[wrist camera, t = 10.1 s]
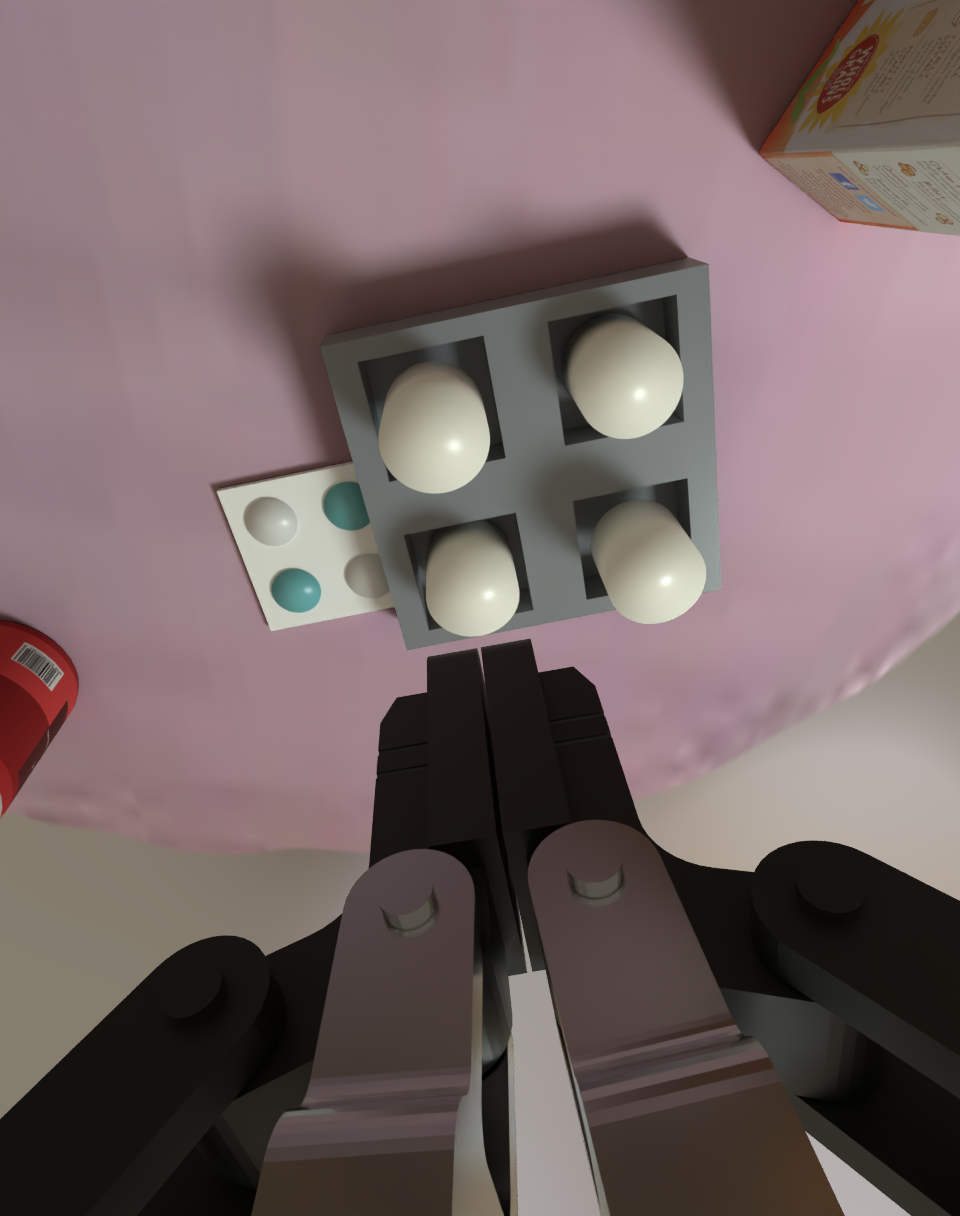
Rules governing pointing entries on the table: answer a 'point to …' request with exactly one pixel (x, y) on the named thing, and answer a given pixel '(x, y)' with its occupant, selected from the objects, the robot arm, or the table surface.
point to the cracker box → (881, 119)
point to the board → (535, 439)
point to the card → (308, 545)
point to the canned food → (30, 702)
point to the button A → (434, 428)
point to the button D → (647, 562)
